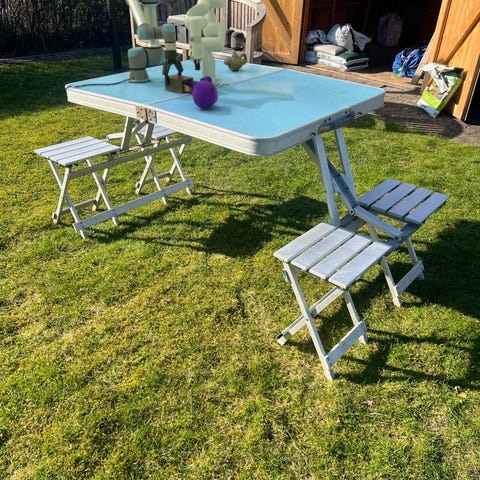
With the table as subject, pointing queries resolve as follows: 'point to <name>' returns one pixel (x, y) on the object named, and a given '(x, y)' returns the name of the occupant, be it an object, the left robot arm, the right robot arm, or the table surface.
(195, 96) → the toy
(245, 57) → the teapot
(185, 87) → the drawer
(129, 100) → the table surface
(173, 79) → the brown block
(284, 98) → the table surface
